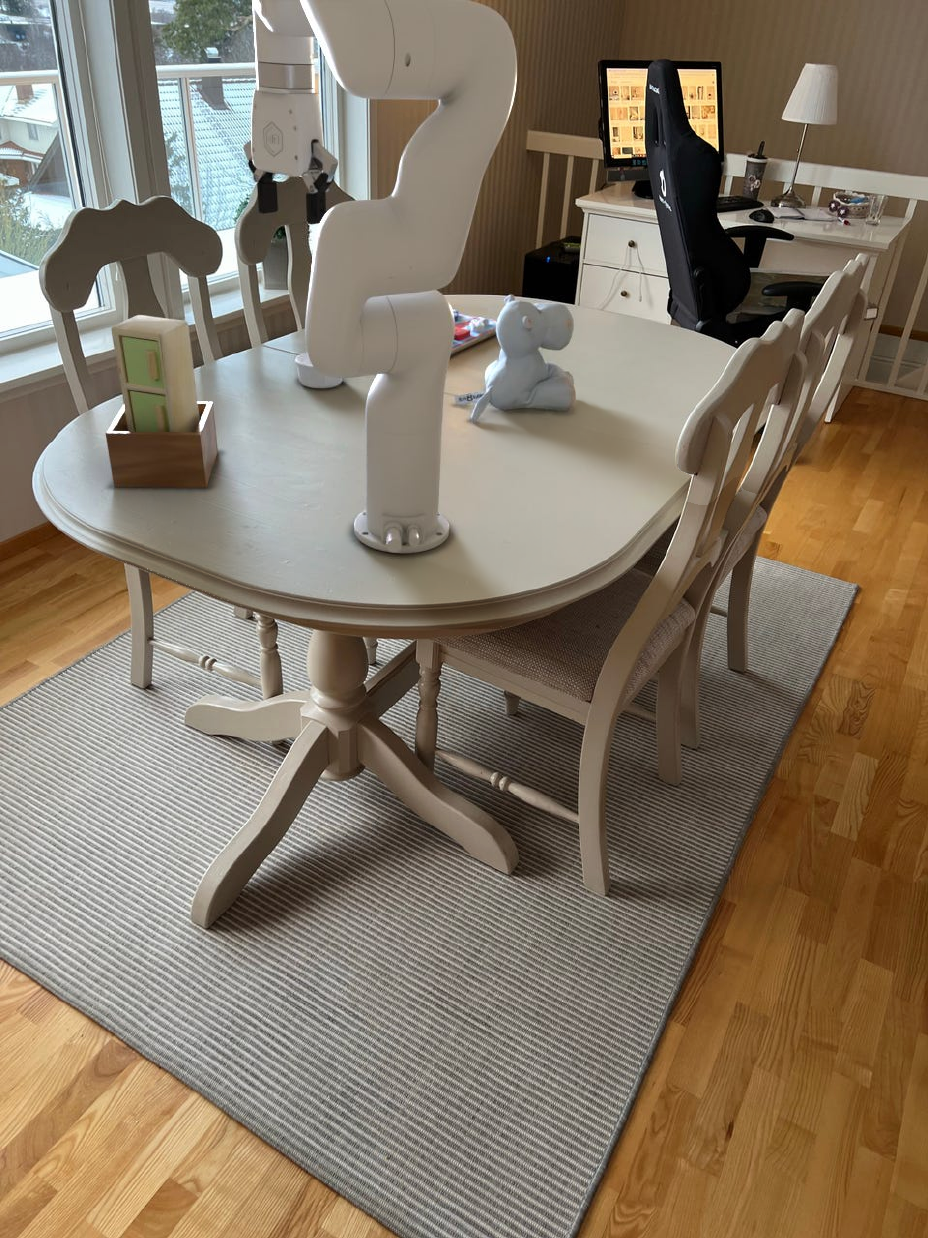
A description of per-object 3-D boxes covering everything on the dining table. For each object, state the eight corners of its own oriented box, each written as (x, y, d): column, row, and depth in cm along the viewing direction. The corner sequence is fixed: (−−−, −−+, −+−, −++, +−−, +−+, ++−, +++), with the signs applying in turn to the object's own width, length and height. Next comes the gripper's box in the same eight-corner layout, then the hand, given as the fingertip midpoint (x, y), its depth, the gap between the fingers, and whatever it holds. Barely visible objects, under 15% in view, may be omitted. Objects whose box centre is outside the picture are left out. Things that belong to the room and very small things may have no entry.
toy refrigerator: (129, 473, 135) (107, 327, 123) (158, 455, 141) (139, 313, 129) (179, 483, 133) (160, 335, 122) (205, 463, 139) (190, 321, 128)
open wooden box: (206, 488, 132) (200, 434, 128) (114, 486, 131) (105, 432, 127) (218, 452, 143) (213, 401, 139) (132, 450, 142) (125, 399, 137)
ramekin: (291, 388, 168) (290, 364, 166) (301, 372, 175) (300, 349, 173) (340, 391, 168) (340, 367, 165) (348, 375, 175) (348, 352, 173)
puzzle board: (419, 310, 215) (420, 298, 213) (507, 330, 205) (508, 318, 204) (338, 341, 192) (338, 328, 191) (432, 364, 183) (433, 351, 181)
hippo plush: (593, 413, 165) (607, 307, 155) (471, 423, 158) (477, 312, 148) (552, 379, 179) (563, 280, 169) (438, 386, 173) (442, 283, 163)
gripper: (220, 73, 125) (230, 211, 135) (312, 84, 117) (316, 230, 126) (262, 73, 131) (269, 205, 140) (353, 83, 122) (355, 224, 131)
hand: (292, 217), depth 133 cm, fingers open, 9 cm apart
